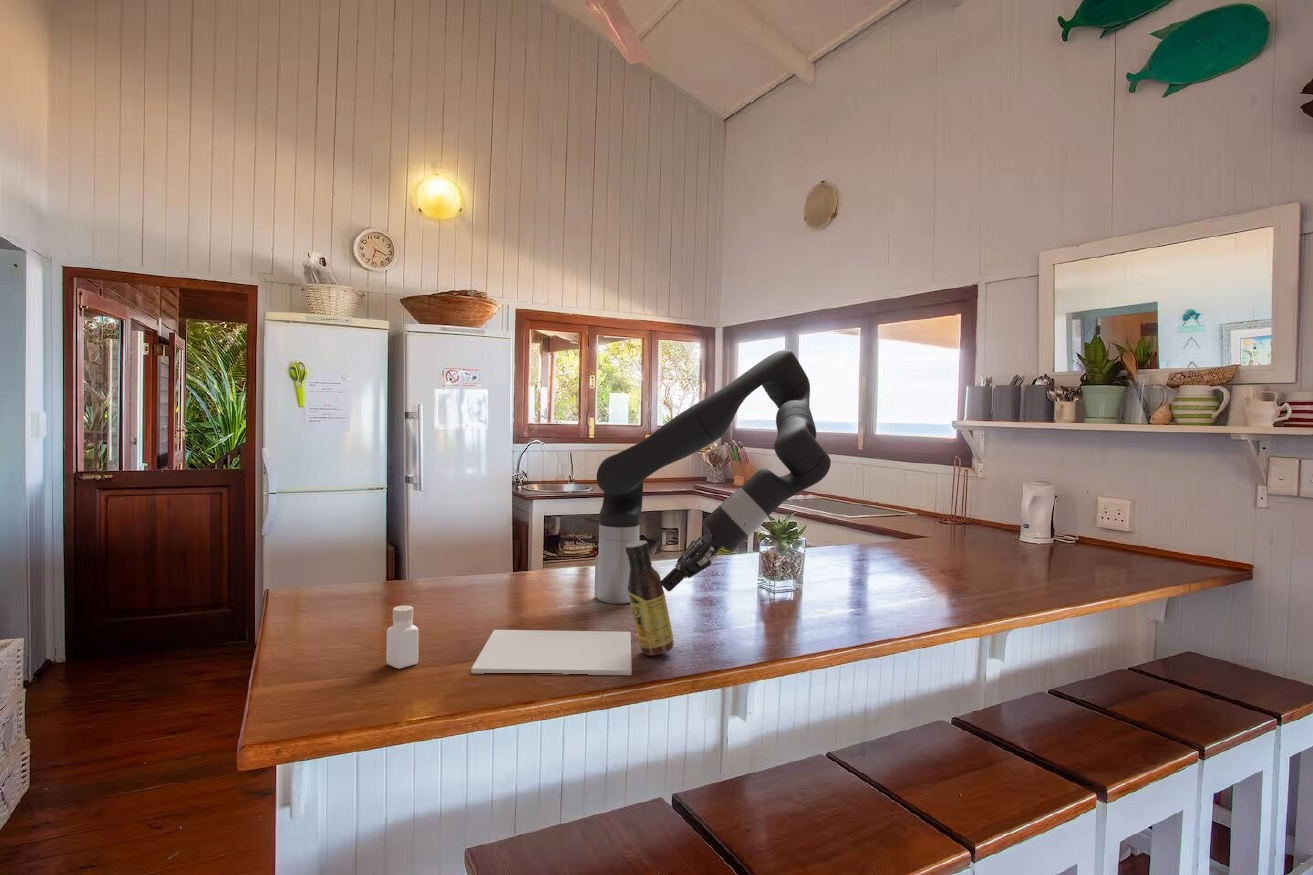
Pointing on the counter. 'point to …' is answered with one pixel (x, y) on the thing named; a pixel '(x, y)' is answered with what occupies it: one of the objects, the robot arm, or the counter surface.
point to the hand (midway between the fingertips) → (664, 586)
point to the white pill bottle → (402, 639)
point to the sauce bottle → (648, 602)
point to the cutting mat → (556, 652)
